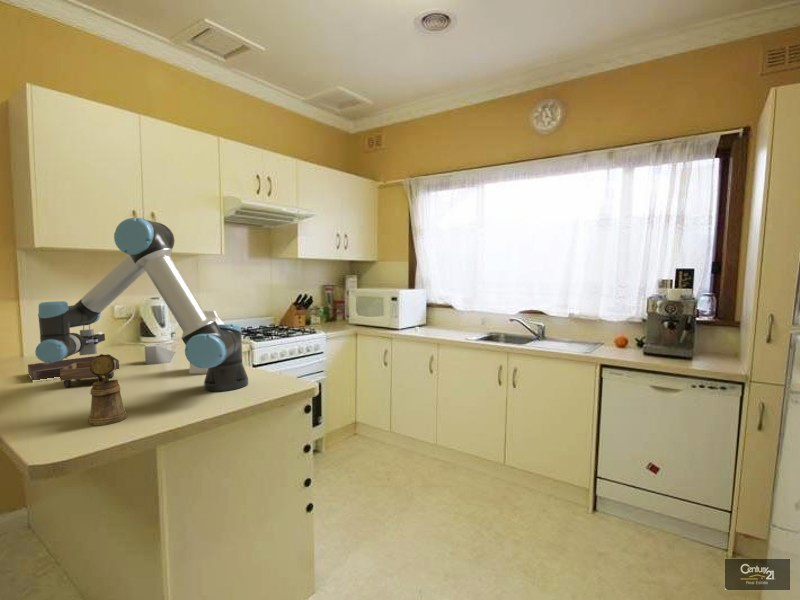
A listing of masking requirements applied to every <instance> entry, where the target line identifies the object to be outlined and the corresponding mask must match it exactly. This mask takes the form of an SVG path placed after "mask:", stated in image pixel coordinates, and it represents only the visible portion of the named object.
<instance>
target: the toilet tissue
mask: <svg viewBox="0 0 800 600" xmlns="http://www.w3.org/2000/svg"><path fill="white" fill-rule="evenodd" d="M167 344H168V343H166V342H155V343H154V342H153V343H148V344H145V345H144V357H145V365H161V364H162V365H164V363H165V364H170V363H171V362H172V359H173V358H174V356H175V353H176V351H173V350H170V349H168V348H167V347H168V345H167Z"/></svg>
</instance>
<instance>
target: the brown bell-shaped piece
mask: <svg viewBox="0 0 800 600" xmlns="http://www.w3.org/2000/svg"><path fill="white" fill-rule="evenodd" d="M106 355H107V354H103V353H101V354H99V355H96V356H97V357H95V358H94V359H93V360H92V361H91V362H90V371H91V372H92V373H93V374H95V375H97V376H98V378H97V382H92V388H90V391H89V392H90V395H91V401H90V402H91V403H90V404H91V405H90V414H89V416H88V424H89V425H91V426H105V425H111V424H116V423H118V422H121V421H124V420H126V419H127V418H128V416H127V415H128V414H127V410H126V409H125V406H124V402H123V398H122V395H121V394H122V393H121V386H120V384H119V381H118V379H111V380H110V378H109V375H108V374H109V373H110V372H112V371H113V370H114V367H115V363H114V360H113V359H112V358H110V357H109V356H106ZM114 371H115V370H114ZM103 374H104V375H103Z"/></svg>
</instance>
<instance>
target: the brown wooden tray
mask: <svg viewBox="0 0 800 600" xmlns="http://www.w3.org/2000/svg"><path fill="white" fill-rule="evenodd" d="M105 355H106V356H109V357H110V358H112V359H113V360H116V369H119V370H120V362H119V361H120V360H119V359H117V358H115V357H114V356H113V355H111V354H105ZM97 356H98V355H92V356H85V357H77V358H67V359H63V360H61V361H57V362H53V363H46V362H37V363H31V364H30V363H29V364H27V370H28V373H29V374H28V373H27V374H28V376H29V375H30V376H31V378H32V380H40V379H47V378H54V377H60V370H61V369H63V368H65V367H67V366H69V365H71V364H73V363H78V362H91V361H92V360H93V359H94V358H95V357H97ZM31 378H30V379H31ZM32 380H31V381H32Z"/></svg>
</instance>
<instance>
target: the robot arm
mask: <svg viewBox="0 0 800 600" xmlns="http://www.w3.org/2000/svg"><path fill="white" fill-rule="evenodd" d="M113 240H114V243H115V245H116V247H117V248H118V249H119V251H121V252H123V253H124V254H126V256H125V257H124V258H123V259H122V260H121V261H120V262H119V263H118V264H117V265H116V266H115V267H114V268H113V269H111V270H110V272H108V274H106V275H105V276H104V277H103V278H102V279H101V280H100V281H98V283H96V284H95V285H94V286H93V287H92V288H91V289H90V290H89V291H88V292H87V293H86V294H85V295H84V296H83V297H82V298H80V299H79V300H78V301H77V302H76V303H75V304H73V305H69V304H68V302H67V301H64V300H62V301H59V300H58V301H44V302H42V301H41V302H40V303H39V304H38V314H37V317H38V324H39V339H40V340H39V341H40V343H39V344H38V345H37V346H36V347H35V356H36V358H37V359H38V360H40V361H41V362H42V363H44V362H46V363H53V362H57V361H61V360H68V359H69V357H70V356H73V355H76V354H79V352H80V351H81V350H82V349H83V348H84V346H85V345H88V344H89V343H92V344H96V345H98V344H99V343H102V342H105V341H106V334H105V333H103V331H99V332H96V333H94V335H92V336H81V335H80V333H77V332H71V331H70V329H72V328H77V327H83V326H84V327H85V326H89V325H90V326H91V325H92V324H95V323H96V322H98V321H99V320H100V319H101V314H102V312H103V311H104V310H105V309H106V308H107V307H108V306H109V305H111V304H112V303H113V302H114V301H115V300H116V299H117V298H119V296H121V295H122V293H124V292H125V291H126V290H127V289H128V288H129V287H130V286H131V285H133V283H134V282H136V281H137V279H139V278H140V277H141V276H142V275H143V274H144V273H147V275H148V277H149V278H150V280H151V282H152V283H153V285H154V286H155V289H156V290H157V291H158V293H159V294H160V296H161V298H162V300H163V301H164V303H165V305H166V306H167V308H168V309H169V311H170V312H171V314H172V315H173V317H174V319H175V320H176V322H177V323H178V326H179V327H180V328H181V330H182V334H181V338H180V339H181V340H182V341H183V343H184V345H185V347H184V354H185V355H184V356H185V358H186V360H187V361H188V362H189V364H190V363H191V364H192V365H194V366H196V367H198V368H203V369H207V368H208V371H207V373H205V374H206V375H205V378H204V382H203V388H204V390H206V391H208V392H210V391H211V392H226V391H227V392H228V391H232V390H238V389H242V388H244V387H246V386H248V385H249V377H248V374H247V371H246V369H245V366H244V363H243V346H242V345H243V344H242V343H243V342H242V327H241V325H240V324H237V323H230V324H229V323H228V324H227V323H226V324H225V323H224V324H219V325H218V324H217V323H216V321H215V320H211V319H208V317H207V316H206V314H205V312H204V311H205V310H204V309H203V307H202V306H201V304H200V302H199V301H198V300H197V298H196V296H195V294H194V293H193V291H192V290H191V288H190V286H189V284H188V283H187V282H186V280H185V278H184V276H183V275H182V274H181V272H180V270H179V269H178V267H177V265H176V264H175V262H174V260H173V258H172V257H171V256H172V253H173V249H174V246H175V235H174V233H173V232H172V230H171V229H170V228H169V227H168V226H167V225H165V224H163V223H161V222H157V221H152V220H149V219H145V218H142V217H130V218H126V219H124V220H122V221H120V223H119V224H118V225H117V226H116V229H115V232H114V234H113Z"/></svg>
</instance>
